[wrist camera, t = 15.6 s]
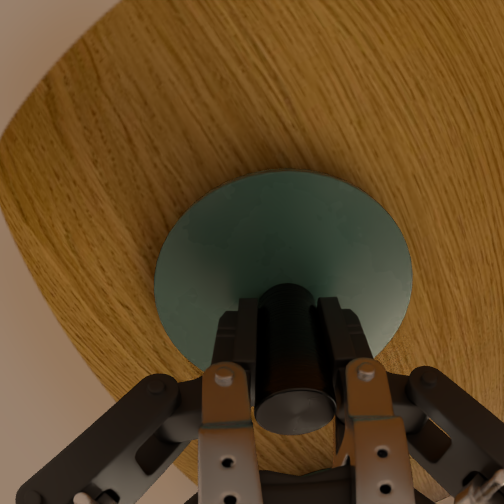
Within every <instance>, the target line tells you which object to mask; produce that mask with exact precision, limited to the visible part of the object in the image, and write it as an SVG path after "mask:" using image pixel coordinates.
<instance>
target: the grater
mask: <svg viewBox="0 0 504 504" xmlns="http://www.w3.org/2000/svg"><path fill="white" fill-rule="evenodd" d="M436 504H454V498H453V497H452V496H449V497H447V498H445V499H443V500H440V501H438V502H436Z"/></svg>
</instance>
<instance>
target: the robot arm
mask: <svg viewBox="0 0 504 504" xmlns="http://www.w3.org/2000/svg"><path fill="white" fill-rule="evenodd" d="M317 313H318V317H319V321H320V326H321V330H322V335H323V339H324V344H325V348H326V353H327V358H328V362H329V367H330V372H331V377H332V382H333V387H334V392H335V397H336V402H337V411H336V414H335V416H334V418H333V465H332V469H329V470H326V471H323V472H319V473H316V474H313V475H309V476H304V477H302V476H295V475H290V474H284V473H279V472H273V471H268V470H259V468H258V461H257V453H256V445H255V437H254V429H253V423H252V420H251V406H254V404H255V382H256V371H257V332H258V298H239V305H238V311H225V313H224V314H223V315H222V316H221V317H220V318H219V322H218V330H217V333H216V339H215V344H214V350H213V355H212V361H211V366H209V367H208V368H207V369H206V370H205V371H204V373H203V375H202V376H201V377H199V378H197V379H194V380H190V381H185V382H180V383H177V381H176V380H175V379H174V378H173V377H171V376H169V375H167V374H153V375H149V376H147V377H145V378H144V379H142V380H141V381H140V382H139V383H138V384H137V385H136V386H134V387H133V388H132V389H131V390H130V391H129V392H128V393H127V394H126V395H124V396H123V397H122V398H121V399H120V400H119V401H118V402H117V403H116V404H114V406H112V407H111V408H110V409H109V410H108V411H107V412H105V413H104V414H103V415H102V416H101V417H100V418H99V419H98V420H97V421H95V422H94V423H93V424H92V425H91V426H90V427H89V428H88V429H86V430H85V431H84V432H83V433H82V434H81V435H80V436H78V437H77V438H76V439H75V440H74V441H73V442H72V443H70V444H69V445H68V446H67V447H66V448H65V449H64V450H62V451H61V452H60V453H59V454H58V455H57V456H56V457H54V458H53V459H52V460H51V461H50V462H49V463H47V464H46V465H45V466H44V467H43V468H42V469H40V470H39V471H38V472H37V473H36V474H35V475H33V476H32V477H31V478H30V479H29V480H28V481H27V482H25V483H24V484H23V485H22V486H21V487H20V488H19V490H18V491H17V494H16V504H135V503H136V502H137V500H139V499H140V497H142V496H143V494H144V493H145V492H146V491H147V490H148V489H149V488H150V487H151V486H152V485H153V484H154V483H155V482H156V480H157V479H158V478H159V477H160V476H161V475H162V474H163V473H164V472H165V470H166V469H167V468H168V467H169V466H170V465H171V464H172V463H173V462H174V460H175V459H176V458H177V457H178V456H179V455H180V454H181V452H182V451H183V450H184V449H185V448H186V447H187V445H188V444H189V443H190V442H191V440H194V439H198V492H197V493H196V494H194V495H193V496H192V497H191V498H190V499H189V500H187V501H186V502H185V503H184V504H436V503H434V502H433V501H431V500H430V499H429V498H427V497H426V496H424V495H423V494H422V493H420V492H419V491H418V490H416V489H415V488H414V487H413V479H412V471H411V464H410V457H409V454H410V455H411V456H412V457H413V458H414V459H415V460H416V461H417V462H418V463H419V464H420V465H421V466H422V467H423V468H424V469H425V470H426V471H427V472H428V473H429V474H430V475H431V476H432V477H433V478H434V479H435V480H436V481H437V482H438V483H439V484H440V485H441V486H442V487H443V488H444V489H445V490H446V491H447V492H448V493H449V494H450V495H451V496H452V497H453V498H454V504H504V423H503V422H502V421H501V420H499V419H498V418H497V417H496V416H495V415H493V414H492V413H491V412H490V411H489V410H487V409H486V408H485V407H484V406H483V405H481V404H480V403H479V402H478V401H476V400H475V399H474V398H473V397H472V396H470V395H469V394H468V393H467V392H465V391H464V390H463V389H462V388H460V387H459V386H458V385H457V384H456V383H454V382H453V381H452V380H451V379H449V378H448V377H447V376H446V375H444V374H443V373H442V372H441V371H439V370H438V369H436V368H433V367H430V366H421V367H417V368H415V369H414V370H413V371H412V372H411V374H410V376H406V375H399V374H393V373H389V372H387V371H386V370H385V368H384V366H383V365H382V364H381V363H380V362H378V361H377V360H374V358H373V355H372V353H371V350H370V347H369V344H368V342H367V339H366V336H365V334H364V331H363V328H362V327H361V323H360V321H359V318H358V316H357V315H356V314H355V313H354V312H353V311H352V310H351V309H341V307H340V304H339V301H338V298H337V297H319V298H318V301H317ZM429 418H431V419H432V420H433V421H434V422H435V423H436V424H437V425H438V426H439V427H440V428H442V429H443V430H444V431H445V432H446V433H447V434H448V435H449V436H450V438H451V439H450V438H449V437H448V436H447V435H446V434H445V433H444V432H443V431H442V430H440V429H439V428H438V427H437V426H436V425H435V424H434V423H433V422H432V421H431V420H430V419H429Z"/></svg>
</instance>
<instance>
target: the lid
mask: <svg viewBox="0 0 504 504" xmlns="http://www.w3.org/2000/svg"><path fill="white" fill-rule="evenodd" d="M411 291H412V265H411V257H410V254H409V250H408V247H407V244H406V241H405V239H404V237H403V235H402V233H401V231H400V229H399V227H398V226H397V224H396V223H395V221H394V220H393V218H392V217H391V216H390V215H389V214H388V212H387V211H386V210H385V209H384V208H383V207H382V206H381V205H380V204H379V203H378V202H377V201H376V200H375V199H373V198H372V197H371V196H369V195H368V194H367V193H366V192H364V191H363V190H362V189H360V188H358V187H356V186H354V185H353V184H351V183H349V182H347V181H345V180H343V179H340V178H337V177H335V176H332V175H329V174H326V173H321V172H317V171H312V170H306V169H291V168H285V169H270V170H264V171H259V172H254V173H249V174H246V175H243V176H240V177H237V178H235V179H232V180H229V181H227V182H225V183H223V184H221V185H220V186H218V187H216V188H214V189H212V190H211V191H209V192H208V193H206V194H205V195H204V196H202V197H201V198H199V199H198V200H197V201H196V202H195V203H194V204H192V205H191V206H190V207H189V208H188V209H187V210H186V211H185V212H184V213H183V215H182V216H181V217H180V218H179V220H178V221H177V222H176V224H175V225H174V226H173V228H172V229H171V231H170V232H169V234H168V236H167V238H166V240H165V242H164V244H163V246H162V248H161V251H160V254H159V257H158V259H157V263H156V269H155V275H154V295H155V303H156V308H157V311H158V314H159V318H160V320H161V323H162V325H163V327H164V329H165V331H166V333H167V335H168V336H169V338H170V339H171V341H172V342H173V344H174V345H175V346H176V347H177V349H178V350H179V351H180V352H181V353H182V354H183V355H184V356H185V357H186V358H187V359H188V360H189V361H190V362H191V363H193V364H194V365H195V366H197V367H198V368H199V369H201V370H202V371H205V370H206V369H207V368H208V367H209V366H211V361H212V355H213V350H214V344H215V339H216V333H217V330H218V322H219V318H220V317H221V316H222V315H223V314H224V313H225V311H238V305H239V298H258V332H257V371H256V382H255V404H254V416H255V419H256V421H257V422H258V424H259V425H260V426H261V427H263V428H264V429H266V430H268V431H270V432H273V433H276V434H282V435H300V434H305V433H310V432H313V431H315V430H318V429H320V428H322V427H324V426H325V425H327V424H328V423H329V422H330V421H331V420H332V419H333V418H334V416H335V414H336V411H337V402H336V397H335V392H334V387H333V382H332V377H331V372H330V367H329V362H328V358H327V353H326V348H325V344H324V339H323V335H322V330H321V326H320V321H319V317H318V313H317V301H318V298H319V297H337V298H338V301H339V304H340V307H341V309H351V310H352V311H353V312H354V313H355V314H356V315H357V316H358V318H359V321H360V323H361V327H362V328H363V331H364V334H365V336H366V339H367V342H368V344H369V347H370V350H371V353H372V355H373V358H374V357H375V356H376V355H377V354H379V353H380V352H381V351H382V350H383V349H384V347H385V346H386V345H387V344H388V343H389V341H390V340H391V339H392V337H393V336H394V334H395V333H396V331H397V330H398V328H399V326H400V324H401V322H402V320H403V318H404V316H405V314H406V311H407V308H408V305H409V301H410V296H411Z"/></svg>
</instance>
